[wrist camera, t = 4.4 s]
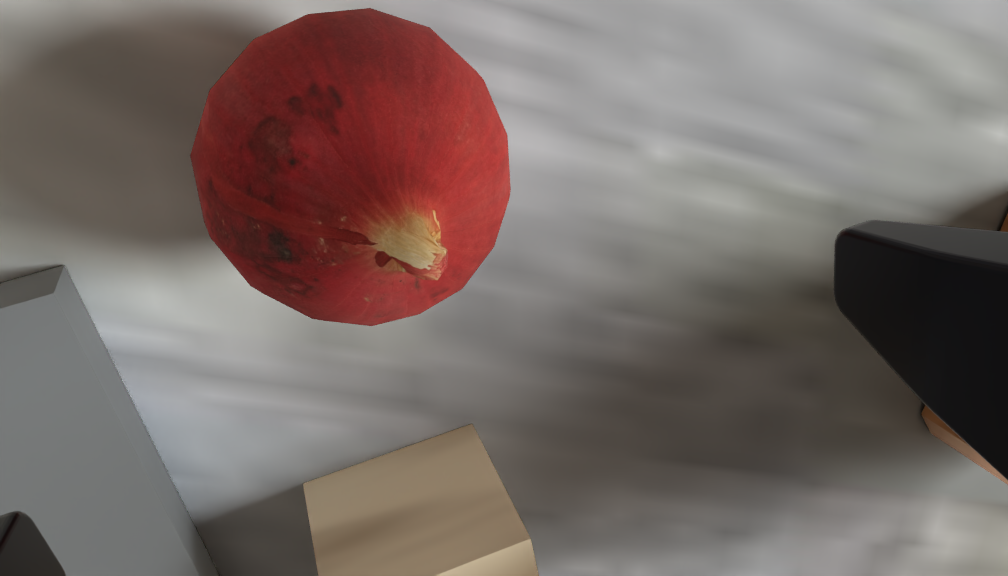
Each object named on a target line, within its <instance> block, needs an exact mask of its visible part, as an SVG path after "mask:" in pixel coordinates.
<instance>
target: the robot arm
mask: <svg viewBox="0 0 1008 576" xmlns="http://www.w3.org/2000/svg"><path fill="white" fill-rule="evenodd" d="M834 297H835V300H836V303H837V306H838V307H839V309H840V311H841V312H842V313H843V315H844V316H845V317H846V318H847V319H848V320H849V321H850V322H851V324H852V325H853V326H854V327H855V328H856V329H857V330H858V331H859V332H860V334H861V335H862V336H863V337H864V338H865V339H866V340H867V341H868V343H869V344H870V345H871V346H872V347H873V348H874V349H875V350H876V351H877V353H878V354H879V355H880V356H881V357H882V358H883V359H884V360H885V361H886V363H887V364H888V365H889V366H890V367H891V368H892V369H893V370H894V372H895V373H896V374H897V375H898V376H899V377H900V378H901V379H902V380H903V382H904V383H905V384H906V385H907V386H908V387H909V388H910V389H911V390H912V391H913V392H914V393H915V395H916V396H917V397H918V398H919V399H920V400H921V401H922V402H923V403H924V404H925V405H926V406H927V407H928V408H929V409H930V410H931V411H932V412H933V413H935V414H936V415H937V416H938V417H939V418H940V419H941V420H942V421H943V422H944V423H945V424H946V425H947V426H949V427H950V428H951V429H952V430H953V431H954V432H955V433H956V434H957V435H958V436H960V437H961V438H962V439H963V440H964V441H965V442H966V443H967V444H968V445H969V446H970V447H972V448H973V449H974V450H975V451H976V452H977V453H978V454H979V455H980V456H981V457H982V458H984V459H985V460H986V461H987V462H988V463H989V464H990V465H991V466H992V467H993V468H995V469H996V470H997V471H998V472H999V473H1000V474H1001V475H1002V476H1003V477H1004V478H1005V479H1007V480H1008V232H1001V231H990V230H979V229H968V228H957V227H946V226H935V225H924V224H913V223H902V222H891V221H880V220H870V221H866V222H863V223H860V224H857V225H854V226H851V227H848V228H846V229H843V230H842V231H841V232H840V233H839V234H838V235H837V238H836V240H835V254H834ZM0 576H66V574H65V571H64V569H63V567H62V566H61V564H60V563H59V561H58V559H57V558H56V556H55V555H54V553H53V551H52V550H51V548H50V547H49V545H48V543H47V542H46V540H45V539H44V537H43V536H42V534H41V532H40V531H39V529H38V528H37V526H36V524H35V523H34V521H33V520H32V519H31V518H30V517H29V516H28V515H27V514H26V513H24V512H21V511H13V512H9V513H6V514H4V515H1V516H0Z"/></svg>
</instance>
